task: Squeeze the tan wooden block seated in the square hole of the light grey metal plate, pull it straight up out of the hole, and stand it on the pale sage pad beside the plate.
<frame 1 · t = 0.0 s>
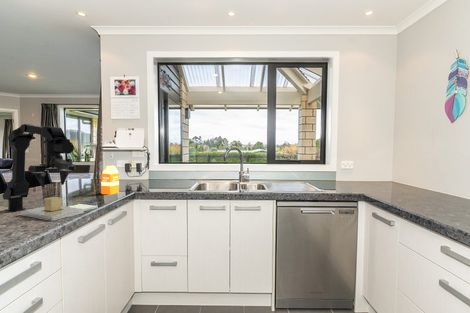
hand: (53, 185, 126), 15 cm above the table, tool pointing down, fingers open, 9 cm apart
hole plate: (53, 214, 130), on the table
pad: (80, 208, 143), on the table
tan wooden block: (53, 206, 130), in the hole plate
orange juice: (110, 193, 192), on the table
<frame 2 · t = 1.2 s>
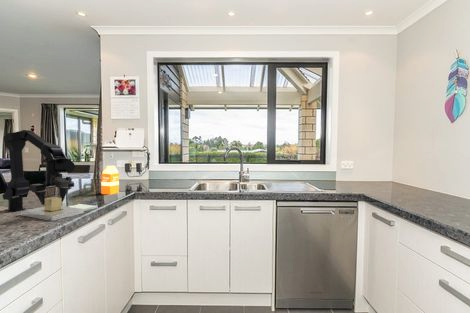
hand: (52, 203, 130), 5 cm above the table, tool pointing down, fingers open, 9 cm apart
nothing on the table moved.
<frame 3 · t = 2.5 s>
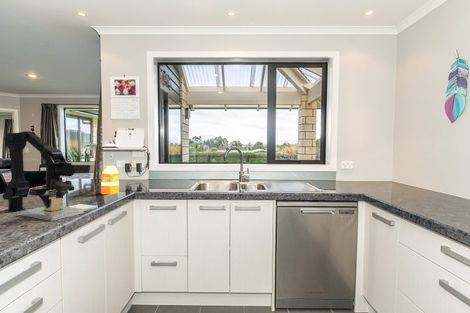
hand: (53, 207, 130), 4 cm above the table, tool pointing down, fingers closed on tan wooden block, 5 cm apart
tan wooden block: (53, 206, 130), in the hole plate, touching gripper
everything else where it was.
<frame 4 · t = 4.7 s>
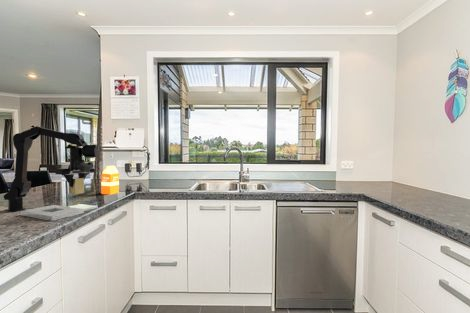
hand: (76, 186, 140), 12 cm above the table, tool pointing down, fingers closed on tan wooden block, 5 cm apart
tan wooden block: (76, 185, 140), point 13 cm above the table, touching gripper
everything else where it was.
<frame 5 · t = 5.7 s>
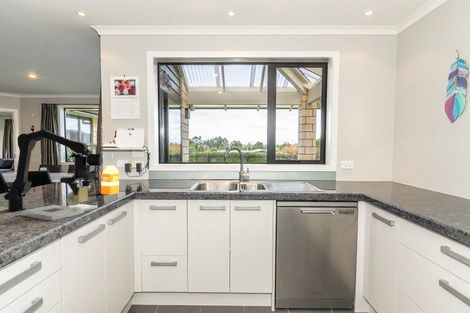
hand: (80, 194, 143), 8 cm above the table, tool pointing down, fingers closed on tan wooden block, 5 cm apart
tan wooden block: (80, 193, 143), point 8 cm above the table, touching gripper
everything else where it was.
when the fingers open (6 cm above the table, at t = 6.8 s): tan wooden block drops 1 cm, resting on pad.
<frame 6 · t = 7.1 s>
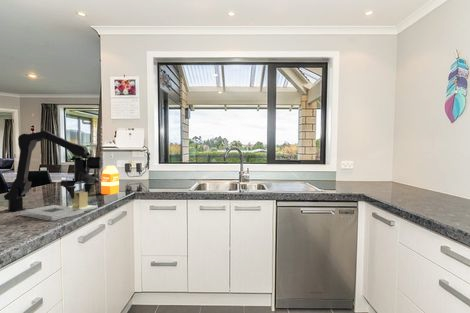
hand: (80, 197, 143), 6 cm above the table, tool pointing down, fingers open, 8 cm apart
tan wooden block: (80, 199, 143), on the pad, point 5 cm above the table
everything else where it was.
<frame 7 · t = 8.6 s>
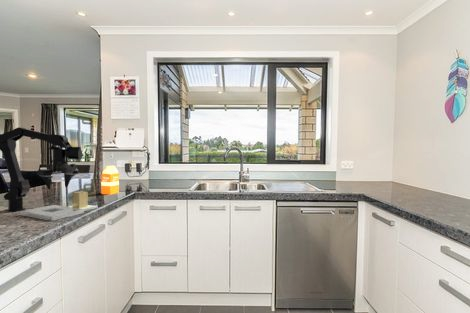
hand: (58, 188, 140), 11 cm above the table, tool pointing down, fingers open, 9 cm apart
nothing on the table moved.
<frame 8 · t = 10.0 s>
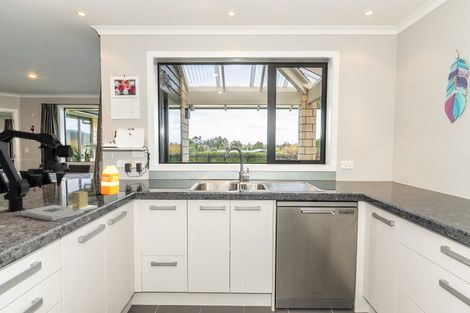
hand: (49, 187, 138), 12 cm above the table, tool pointing down, fingers open, 9 cm apart
nothing on the table moved.
at the end: tan wooden block inside the target area on the pad (0.0 cm from its centre), point 5.0 cm above the pad's base; tan wooden block tilted 0°; the gripper is holding nothing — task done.
